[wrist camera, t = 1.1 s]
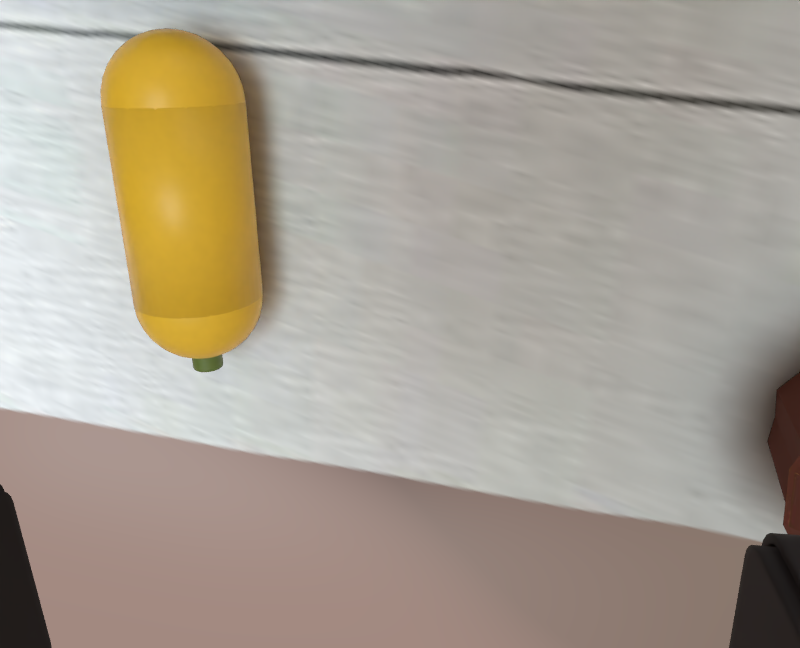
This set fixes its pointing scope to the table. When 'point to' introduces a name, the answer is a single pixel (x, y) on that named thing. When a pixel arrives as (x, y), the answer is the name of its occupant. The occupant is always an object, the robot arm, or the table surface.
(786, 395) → the muffin
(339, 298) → the table surface
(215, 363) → the squash
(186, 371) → the table surface
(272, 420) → the table surface
